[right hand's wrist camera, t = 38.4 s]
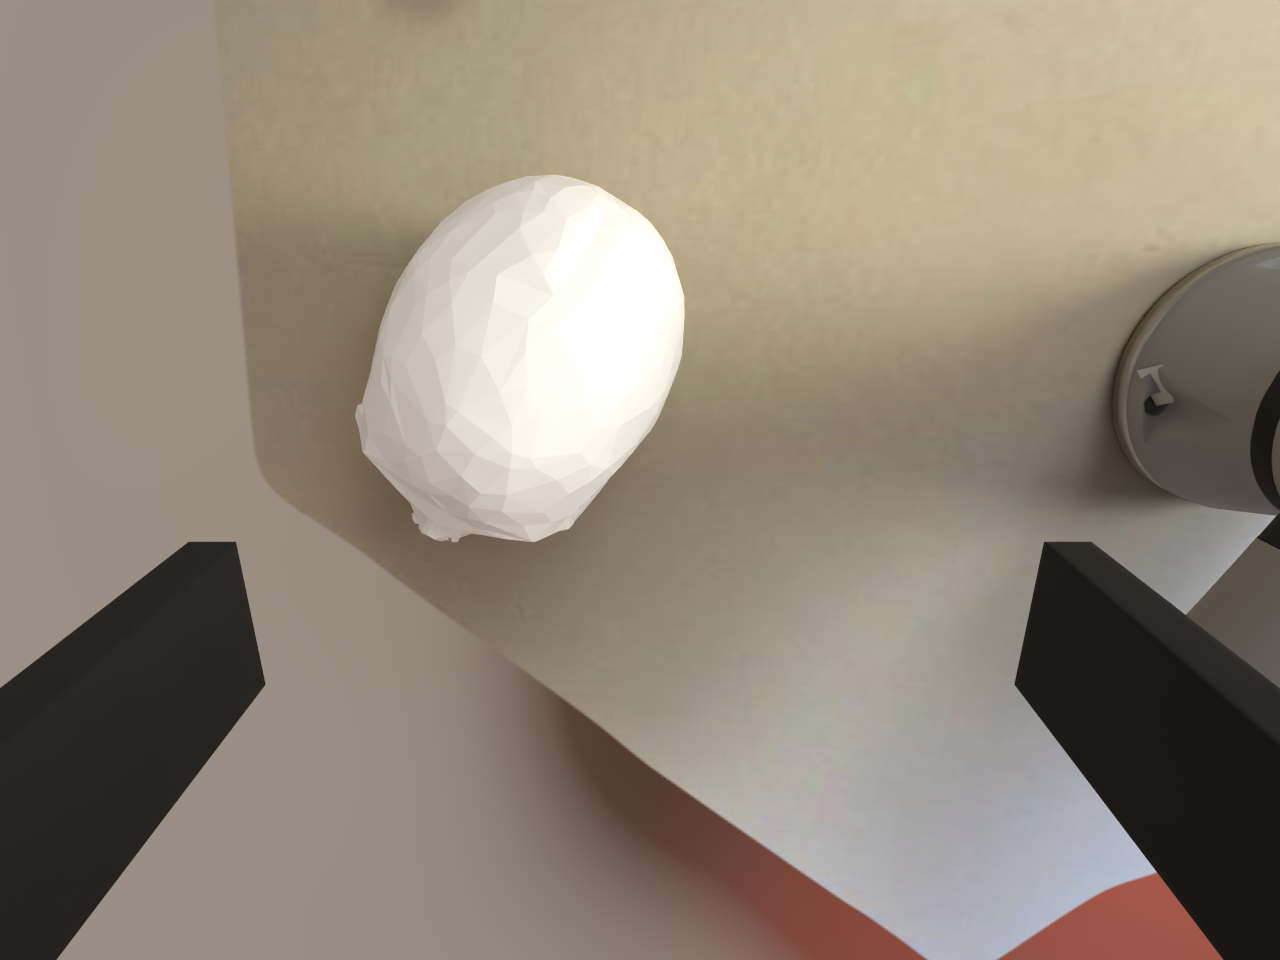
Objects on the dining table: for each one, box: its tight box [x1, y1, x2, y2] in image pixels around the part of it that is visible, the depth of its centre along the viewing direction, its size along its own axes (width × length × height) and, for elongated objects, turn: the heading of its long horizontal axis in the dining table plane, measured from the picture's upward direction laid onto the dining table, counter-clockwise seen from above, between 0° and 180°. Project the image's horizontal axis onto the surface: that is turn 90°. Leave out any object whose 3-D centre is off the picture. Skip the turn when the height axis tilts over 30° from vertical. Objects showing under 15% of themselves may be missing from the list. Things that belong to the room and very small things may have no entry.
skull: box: [355, 175, 684, 542], centre depth 37 cm, size 13×22×16 cm, turn 153°
